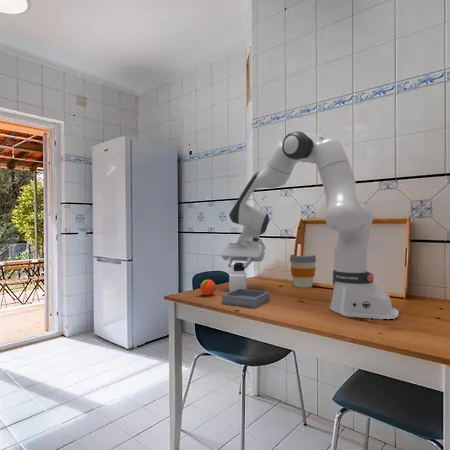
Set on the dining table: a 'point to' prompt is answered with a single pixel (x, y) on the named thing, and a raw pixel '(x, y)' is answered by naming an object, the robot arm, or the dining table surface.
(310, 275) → the reusable coffee cup
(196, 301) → the dining table surface
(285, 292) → the dining table surface
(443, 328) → the dining table surface
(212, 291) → the clementine
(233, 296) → the tray
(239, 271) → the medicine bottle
